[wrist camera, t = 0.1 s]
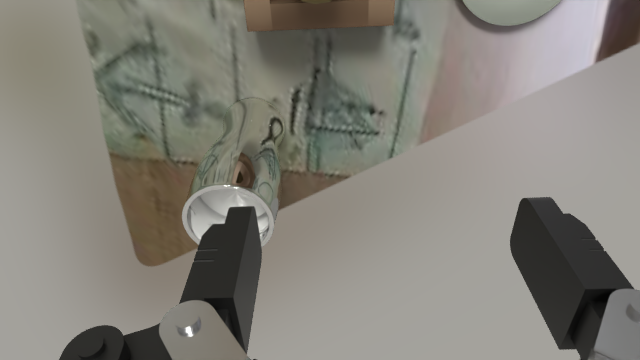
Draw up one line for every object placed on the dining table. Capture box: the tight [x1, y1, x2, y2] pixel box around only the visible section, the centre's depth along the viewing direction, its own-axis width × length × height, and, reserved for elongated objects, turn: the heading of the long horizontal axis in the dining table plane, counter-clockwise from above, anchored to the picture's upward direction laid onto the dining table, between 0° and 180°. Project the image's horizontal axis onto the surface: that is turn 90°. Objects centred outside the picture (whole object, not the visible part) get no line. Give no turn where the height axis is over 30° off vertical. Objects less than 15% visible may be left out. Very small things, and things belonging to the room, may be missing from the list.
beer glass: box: [182, 98, 285, 247], centre depth 38 cm, size 7×7×15 cm
